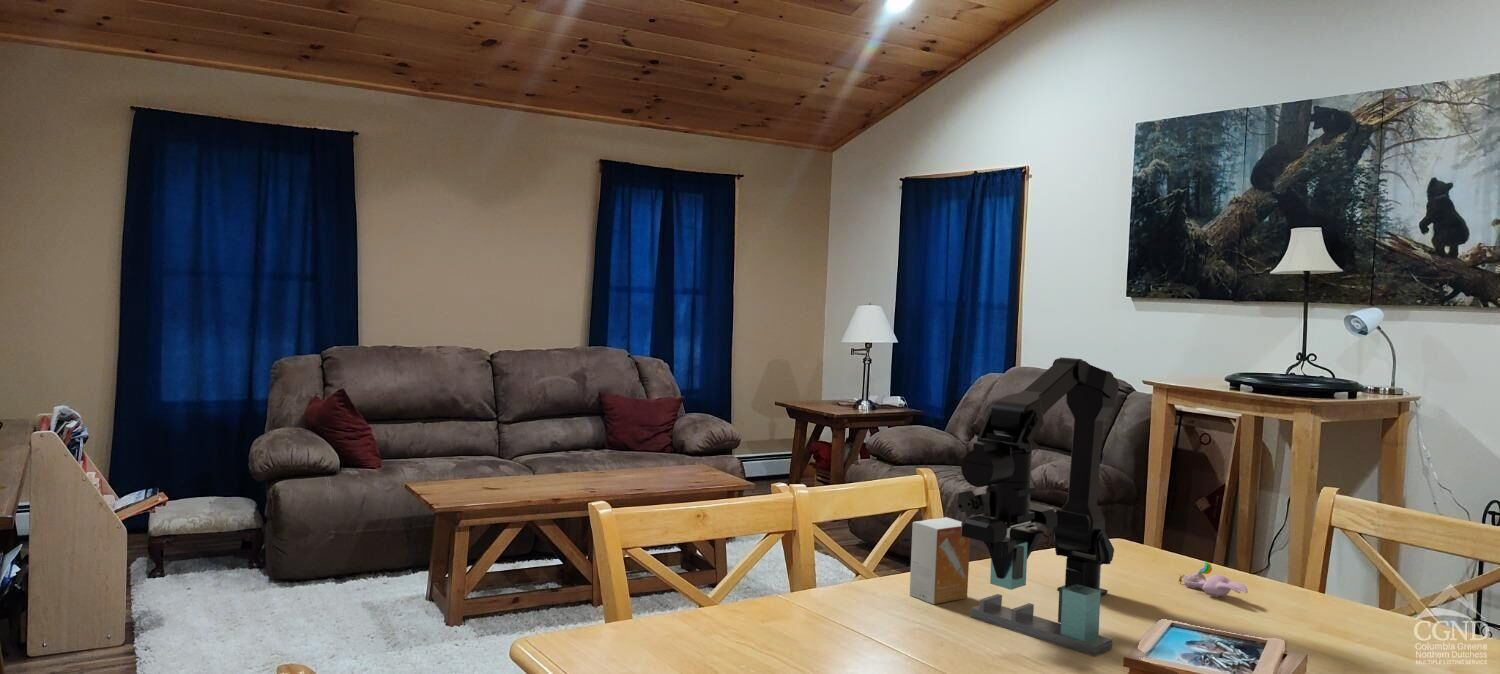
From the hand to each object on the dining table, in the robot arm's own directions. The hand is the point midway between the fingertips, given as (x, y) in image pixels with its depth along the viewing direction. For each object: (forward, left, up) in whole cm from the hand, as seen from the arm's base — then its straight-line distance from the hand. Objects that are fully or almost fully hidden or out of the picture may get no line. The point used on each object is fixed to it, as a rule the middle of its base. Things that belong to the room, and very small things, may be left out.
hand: (1008, 575), depth 164 cm
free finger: (0, 0, -1) cm, 1 cm away
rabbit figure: (-43, +14, -8) cm, 46 cm away
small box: (-2, -15, -8) cm, 17 cm away
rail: (0, +6, -8) cm, 10 cm away
